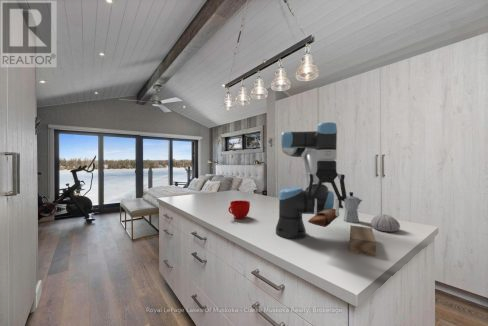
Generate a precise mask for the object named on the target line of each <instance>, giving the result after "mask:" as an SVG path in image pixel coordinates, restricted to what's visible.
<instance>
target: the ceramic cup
mask: <svg viewBox="0 0 488 326" xmlns="http://www.w3.org/2000/svg"><path fill="white" fill-rule="evenodd" d="M229 204H230V205H229V207H228V209H227V210H228V212H229V213H230V214H231V215H232V216H233V217H234V218H235V219H237V220H238V219H240V220H242V219H246V217H247V216H248V215H249V213H250V207H251V203H250V201H248V200H241V199H240V200H239V199H238V200H233V201H232V200H231V201H230V203H229Z"/></svg>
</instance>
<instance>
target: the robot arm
mask: <svg viewBox="0 0 488 326" xmlns="http://www.w3.org/2000/svg"><path fill="white" fill-rule="evenodd" d="M316 127H317V129H316V131H314V130H311V131H283V132H282V133H281V136H280V137H281V144H280V145H281V151H282V153H284V154H285V155H287V156H289V157H293V158H301V160H302V162H304V169H305V177H306V178H305V179H306V183H307V184H306V185H307V186H306V188H305V190H303V188H302V187H287V188H286V187H285V188H283V189H281V190H280V191H279V197H278V200H279V203H278V208H279V209H278V220H277V224H276V226H275V234H276V235H277V236H279V237H281V238H285V239H291V240H292V239H295V240H296V239H302V238H304V237H306V236H307V231H306V227H305V224H304V220H303V215H314V216H315V215H317V213H319V212H321V211H324V210H328V209H334V205H335V209H336V216H338V217H337V218H339V217H340V210H339V209H342V208H341V207H342V206H343V204H342V203H343V201H342V200H343V199H346V198H347V192H346V185H345V177H346V176H345V174H342V173H341V174H340V173H338V172H337V146H338V145H337V143H338V142H337V141H338V138H337V135H338V128H337V123H336V122H320V123H318V124H317V126H316ZM336 178H338V180H339V186H340V191H341V194H340V191H339V189H338V186H337V185H336V182H335V179H336ZM325 183H328V184H331V186H332V189H333V190H329V188H328V185H325ZM334 193H335V194H334ZM335 196H336V198H338V199H335Z"/></svg>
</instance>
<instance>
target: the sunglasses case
mask: <svg viewBox="0 0 488 326" xmlns="http://www.w3.org/2000/svg"><path fill="white" fill-rule="evenodd" d="M338 218H339V217H338V216H336V208H333V209H328V210H324V211H321V212H319V213H317V215H315V214H314V215H313V216H312V217H311V218H310V219H309V220H308V221H307V223H309V224H311V225H315V226H319V227H324V228H326V227H328V226H330V224H331V223H332V222H333V221H335V220H336V219H338Z"/></svg>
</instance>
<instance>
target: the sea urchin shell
mask: <svg viewBox="0 0 488 326" xmlns="http://www.w3.org/2000/svg"><path fill="white" fill-rule="evenodd" d="M370 224H371V228H374V229H375V230H377V231H381V232H390V233H391V232H397V231H399V230H400V228H401V225H400V223H399V221H398V220H397V219H396V218H394V217H393V216H391V215H388V214H377V215H375V216H374V217H373V218H372V219H371V221H370Z"/></svg>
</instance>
